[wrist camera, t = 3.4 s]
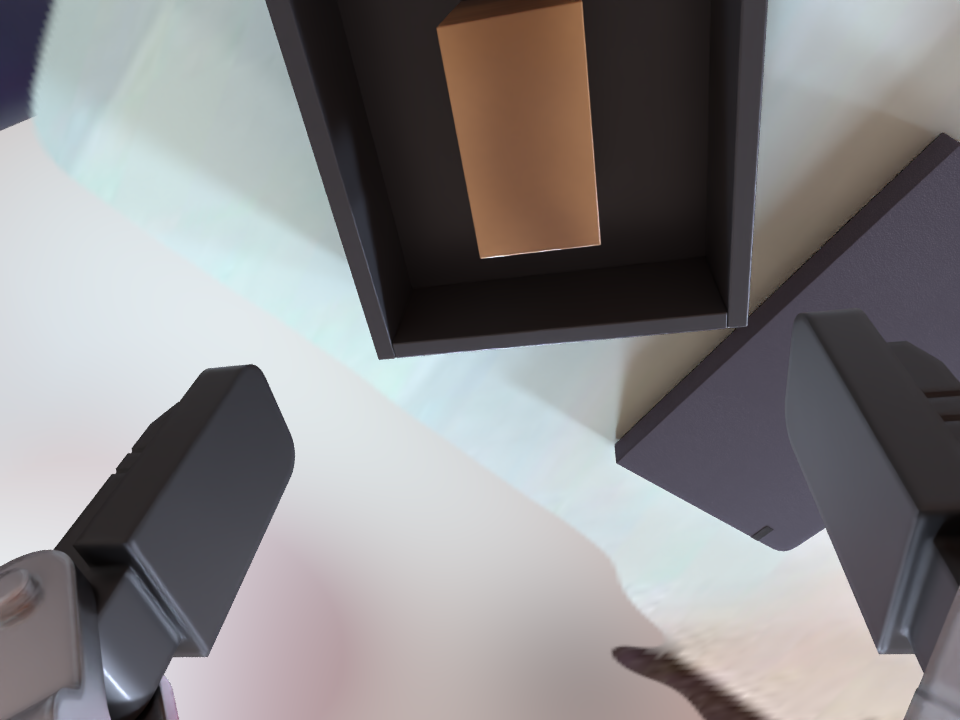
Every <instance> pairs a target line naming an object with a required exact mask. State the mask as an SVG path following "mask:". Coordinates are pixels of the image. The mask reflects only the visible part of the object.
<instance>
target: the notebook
mask: <svg viewBox="0 0 960 720" xmlns="http://www.w3.org/2000/svg"><path fill="white" fill-rule="evenodd" d="M850 308H860V309H861V310H863V312H864V313H865V314H866V315H867V317H868V318H869V319H870V321H871V322H872V323H873V325H874V326H875V328H876V329H877V330H878V332H879V333H880V334H881V336H882V337H883V339H884V340H885V341H886V342H898V341H908V342H910V343H911V344H913V345H915V346H916V347H918V348H920V349H922V350H923V351H925V352H927V353H928V354H930V355H932V356H933V357H935V358H937V359H938V360H940V361H942V362H943V363H944V364H945V365H946V366H947V368H948V369H949V370H950V371H951V372H952V374H953V375H954V376H955V377H956V379H957V380H958V381H959V382H960V143H959V142H957V141H956V140H954V139H953V138H951V137H949V136H948V135H946V134H945V133H942V134H940V135H939V136H938V137H937V138H936V139H935V140H934V141H933V142H932V143H931V144H930V145H929V146H928V147H927V148H926V149H925V150H924V151H923V152H922V153H921V154H919V155H918V156H917V157H916V158H915V159H914V160H913V161H912V162H911V163H910V164H909V165H908V166H907V167H906V168H905V169H904V170H903V171H902V172H901V173H900V174H898V175H897V176H896V177H895V178H894V179H893V180H892V181H891V182H890V183H889V184H888V185H887V186H886V187H885V188H884V189H883V190H882V191H881V192H880V193H879V194H877V195H876V196H875V197H874V198H873V199H872V200H871V201H870V202H869V203H868V204H867V205H866V206H865V207H864V208H863V209H862V210H861V211H860V212H859V213H858V214H856V215H855V216H854V217H853V218H852V219H851V220H850V221H849V222H848V223H847V224H846V225H845V226H844V227H843V228H842V229H841V230H840V231H839V232H838V233H837V234H835V235H834V236H833V237H832V238H831V239H830V240H829V241H828V242H827V243H826V244H825V245H824V246H823V247H822V248H821V249H820V250H819V251H818V252H817V253H816V254H814V255H813V256H812V257H811V258H810V259H809V260H808V261H807V262H806V263H805V264H804V265H803V266H802V267H801V268H800V269H799V270H798V271H797V272H796V273H795V274H793V275H792V276H791V277H790V278H789V279H788V280H787V281H786V282H785V283H784V284H783V285H782V286H781V287H780V288H779V289H778V290H777V291H776V292H775V293H774V294H772V295H771V296H770V297H769V298H768V299H767V300H766V301H765V302H764V303H763V304H762V305H761V306H760V307H759V308H758V309H757V310H756V311H755V312H754V313H753V314H751V315H750V316H749V317H748V325H747V326H746V327H738V328H737V329H736V330H735V331H734V332H733V333H732V334H730V335H729V336H728V337H727V338H726V339H725V340H724V341H723V342H722V343H721V344H720V345H719V346H718V347H717V348H716V349H715V350H714V351H713V352H712V353H711V354H709V355H708V356H707V357H706V358H705V359H704V360H703V361H702V362H701V363H700V364H699V365H698V366H697V367H696V368H695V369H694V370H693V371H692V372H691V373H690V374H688V375H687V376H686V377H685V378H684V379H683V380H682V381H681V382H680V383H679V384H678V385H677V386H676V387H675V388H674V389H673V390H672V391H671V392H670V393H669V394H667V395H666V396H665V397H664V398H663V399H662V400H661V401H660V402H659V403H658V404H657V405H656V406H655V407H654V408H653V409H652V410H651V411H650V412H649V413H648V414H646V415H645V416H644V417H643V418H642V419H641V420H640V421H639V422H638V423H637V424H636V425H635V426H634V427H633V428H632V429H631V430H630V431H629V432H628V433H627V434H625V435H624V436H623V437H622V438H621V439H620V440H619V441H618V442H617V443H616V444H615V455H616V463H617V464H619V465H621V466H622V467H624V468H626V469H628V470H630V471H632V472H633V473H635V474H637V475H639V476H641V477H643V478H644V479H646V480H648V481H650V482H652V483H654V484H655V485H657V486H659V487H661V488H663V489H665V490H666V491H668V492H670V493H672V494H674V495H676V496H677V497H679V498H681V499H683V500H685V501H687V502H688V503H690V504H692V505H694V506H696V507H698V508H699V509H701V510H703V511H705V512H707V513H709V514H710V515H712V516H714V517H716V518H718V519H720V520H721V521H723V522H725V523H727V524H729V525H731V526H732V527H734V528H736V529H738V530H740V531H741V532H743V533H745V534H747V535H749V536H750V537H752V538H753V539H755V540H757V541H760V542H762V543H763V544H765V545H767V546H769V547H771V548H773V549H775V550H778V551H788V550H791V549H793V548H795V547H797V546H799V545H800V544H802V543H803V542H805V541H806V540H808V539H809V538H811V537H812V536H814V535H815V534H817V533H818V532H820V531H821V530H823V529H824V528H826V527H825V525H824V522H823V520H822V518H821V515H820V513H819V511H818V508H817V506H816V503H815V501H814V499H813V496H812V494H811V492H810V489H809V487H808V484H807V482H806V480H805V477H804V475H803V473H802V470H801V468H800V465H799V463H798V461H797V458H796V456H795V454H794V451H793V449H792V446H791V444H790V440H789V437H788V433H787V427H786V420H785V396H786V386H787V376H788V367H789V357H790V347H791V337H792V329H793V323H794V320H795V317H796V316H797V315H798V314H799V313H809V312H819V311H829V310H840V309H850Z"/></svg>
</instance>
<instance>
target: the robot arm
mask: <svg viewBox="0 0 960 720" xmlns="http://www.w3.org/2000/svg"><path fill="white" fill-rule="evenodd" d="M785 420H786V427H787V433H788V437H789V440H790V444H791V446H792V449H793V451H794V454H795V456H796V458H797V461H798V463H799V465H800V468H801V470H802V473H803V475H804V477H805V480H806V482H807V484H808V487H809V489H810V492H811V494H812V496H813V499H814V501H815V503H816V506H817V508H818V511H819V513H820V515H821V518H822V520H823V522H824V525H825V527H826V530H827V532H828V534H829V537H830V539H831V541H832V544H833V546H834V549H835V551H836V553H837V556H838V558H839V560H840V563H841V565H842V568H843V570H844V572H845V575H846V577H847V579H848V582H849V584H850V587H851V589H852V591H853V594H854V596H855V598H856V601H857V603H858V606H859V608H860V610H861V613H862V615H863V617H864V620H865V622H866V625H867V627H868V629H869V632H870V634H871V636H872V639H873V641H874V644H875V646H876V648H877V651H878V653H879V654H915V655H916V657H917V660H918V662H919V664H920V666H921V668H922V670H923V672H924V675H923V678H922V680H921V682H920V685H919V687H918V688H917V689H916V691H915V694H914V696H913V698H912V700H911V703H910V705H909V708H908V710H907V713H906V715H905V717H904V720H960V382H959V381H958V380H957V379H956V377H955V376H954V375H953V374H952V372H951V371H950V370H949V369H948V368H947V366H946V365H945V364H944V363H943V362H942V361H940V360H938V359H937V358H935V357H933V356H932V355H930V354H928V353H927V352H925V351H923V350H922V349H920V348H918V347H916V346H915V345H913V344H911V343H910V342H908V341H898V342H886V341H885V340H884V339H883V337H882V336H881V334H880V333H879V332H878V330H877V329H876V328H875V326H874V325H873V323H872V322H871V321H870V319H869V318H868V317H867V315H866V314H865V313H864V312H863V310H861V309H860V308H850V309H840V310H829V311H819V312H809V313H799V314H798V315H797V316H796V317H795V320H794V323H793V329H792V337H791V347H790V357H789V367H788V376H787V386H786V396H785ZM294 461H295V450H294V443H293V439H292V437H291V434H290V432H289V429H288V427H287V425H286V423H285V421H284V418H283V416H282V414H281V411H280V409H279V407H278V405H277V403H276V400H275V398H274V396H273V393H272V391H271V389H270V387H269V384H268V382H267V380H266V378H265V376H264V374H263V372H262V371H261V370H260V369H259V368H258V367H257V366H256V365H252V364H249V365H239V366H229V367H219V368H208V369H206V370H204V371H203V372H202V373H201V374H200V375H199V377H198V378H197V379H196V380H195V382H194V383H193V384H192V386H191V387H190V388H189V390H188V391H187V392H186V394H185V395H184V396H183V398H182V399H181V400H180V402H178V403H176V404H175V405H174V406H173V407H171V408H170V409H169V410H168V411H166V412H165V413H164V414H163V415H161V416H160V417H159V418H158V419H156V420H155V421H154V422H152V423H151V424H150V425H149V427H148V428H147V429H146V431H145V432H144V433H143V434H142V436H141V437H140V438H139V440H138V441H137V442H136V444H135V445H134V446H133V448H132V453H128V454H127V455H126V457H125V458H124V459H123V460H122V462H121V463H120V464H119V465H118V467H117V468H116V474H112V475H111V476H110V477H109V479H108V480H107V481H106V482H105V484H104V485H103V486H102V488H101V489H100V490H99V492H98V493H97V494H96V495H95V497H94V498H93V499H92V501H91V502H90V503H89V505H88V506H87V507H86V508H85V510H84V511H83V512H82V513H81V515H80V516H79V517H78V519H77V520H76V521H75V523H74V524H73V525H72V527H71V528H70V529H69V530H68V532H67V533H66V534H65V536H64V537H63V538H62V539H61V541H60V542H59V543H58V545H57V546H56V547H55V549H54V550H42V551H37V552H32V553H29V554H26V555H23V556H21V557H18V558H16V559H14V560H12V561H10V562H8V563H6V564H4V565H2V566H0V720H179V717H178V713H177V708H176V703H175V698H174V693H173V689H172V686H171V684H170V682H169V681H168V679H167V678H166V677H165V676H164V673H165V671H166V669H167V667H168V665H169V663H170V661H171V659H172V657H208V655H209V653H210V651H211V649H212V647H213V645H214V642H215V640H216V638H217V636H218V634H219V632H220V629H221V627H222V625H223V623H224V621H225V619H226V616H227V614H228V612H229V610H230V608H231V606H232V603H233V601H234V599H235V597H236V595H237V592H238V590H239V588H240V586H241V584H242V582H243V579H244V577H245V575H246V573H247V571H248V569H249V566H250V564H251V562H252V560H253V558H254V556H255V553H256V551H257V549H258V547H259V545H260V542H261V540H262V538H263V536H264V534H265V532H266V529H267V527H268V525H269V523H270V521H271V519H272V516H273V514H274V512H275V510H276V508H277V506H278V503H279V501H280V499H281V497H282V495H283V493H284V490H285V488H286V486H287V484H288V482H289V479H290V477H291V475H292V472H293V468H294Z"/></svg>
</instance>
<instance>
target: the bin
mask: <svg viewBox="0 0 960 720" xmlns="http://www.w3.org/2000/svg"><path fill="white" fill-rule="evenodd" d="M265 1H266V4H267V7H268V10H269V13H270V17H271V20H272V23H273V26H274V29H275V32H276V36H277V39H278V42H279V45H280V48H281V51H282V55H283V58H284V61H285V64H286V67H287V70H288V74H289V77H290V80H291V83H292V86H293V89H294V93H295V96H296V99H297V102H298V105H299V108H300V112H301V115H302V118H303V121H304V124H305V127H306V131H307V134H308V137H309V140H310V143H311V146H312V150H313V153H314V156H315V159H316V162H317V165H318V169H319V172H320V175H321V178H322V181H323V184H324V188H325V191H326V194H327V197H328V200H329V203H330V207H331V210H332V213H333V216H334V219H335V222H336V226H337V229H338V232H339V235H340V238H341V241H342V245H343V248H344V251H345V254H346V257H347V260H348V264H349V267H350V270H351V273H352V276H353V280H354V283H355V286H356V289H357V292H358V295H359V299H360V302H361V305H362V308H363V311H364V314H365V318H366V321H367V324H368V327H369V330H370V333H371V337H372V340H373V343H374V346H375V349H376V352H377V356H378V359H379V360H383V359H394V358H403V357H414V356H425V355H436V354H447V353H459V352H470V351H481V350H492V349H503V348H515V347H526V346H537V345H548V344H559V343H571V342H582V341H593V340H604V339H615V338H627V337H638V336H649V335H660V334H671V333H683V332H694V331H705V330H716V329H726V328H727V327H728V328H736V327H746V326H747V325H748V311H749V295H750V279H751V264H752V248H753V232H754V216H755V200H756V184H757V168H758V152H759V136H760V120H761V104H762V88H763V72H764V56H765V40H766V24H767V8H768V0H582V4H583V17H584V30H585V43H586V56H587V69H588V82H589V95H590V108H591V121H592V134H593V147H594V160H595V173H596V186H597V199H598V212H599V225H600V237H601V245H596V246H587V247H578V248H570V249H561V250H552V251H544V252H535V253H526V254H517V255H509V256H500V257H491V258H483V259H481V258H480V255H479V249H478V244H477V239H476V234H475V228H474V223H473V218H472V213H471V207H470V202H469V197H468V192H467V187H466V181H465V176H464V171H463V166H462V160H461V155H460V150H459V145H458V139H457V134H456V129H455V124H454V119H453V113H452V108H451V103H450V98H449V92H448V87H447V82H446V77H445V71H444V66H443V61H442V56H441V50H440V45H439V40H438V35H437V30H436V28H437V26H438V25H439V24H440V23H441V22H442V21H443V20H444V19H445V18H446V17H447V16H448V14H449V13H450V12H451V11H452V10H453V9H454V8H455V7H456V6H457V5H458V4H459V3H460V2H461V1H465V0H265Z"/></svg>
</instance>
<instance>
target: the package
mask: <svg viewBox="0 0 960 720" xmlns="http://www.w3.org/2000/svg"><path fill="white" fill-rule="evenodd" d="M436 30H437V35H438V40H439V45H440V50H441V56H442V61H443V66H444V71H445V77H446V82H447V87H448V92H449V98H450V103H451V108H452V113H453V119H454V124H455V129H456V134H457V139H458V145H459V150H460V155H461V160H462V166H463V171H464V176H465V181H466V187H467V192H468V197H469V202H470V207H471V213H472V218H473V223H474V228H475V234H476V239H477V244H478V249H479V255H480V258H481V259H483V258H491V257H500V256H509V255H517V254H526V253H535V252H544V251H552V250H561V249H570V248H578V247H587V246H596V245H601V237H600V225H599V212H598V199H597V186H596V173H595V160H594V147H593V134H592V121H591V108H590V95H589V82H588V69H587V56H586V43H585V30H584V17H583V4H582V0H465V1H461V2H460V3H459V4H458V5H457V6H456V7H455V8H454V9H453V10H452V11H451V12H450V13H449V14H448V16H447V17H446V18H445V19H444V20H443V21H442V22H441V23H440V24H439V25H438V26H437V28H436Z"/></svg>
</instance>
